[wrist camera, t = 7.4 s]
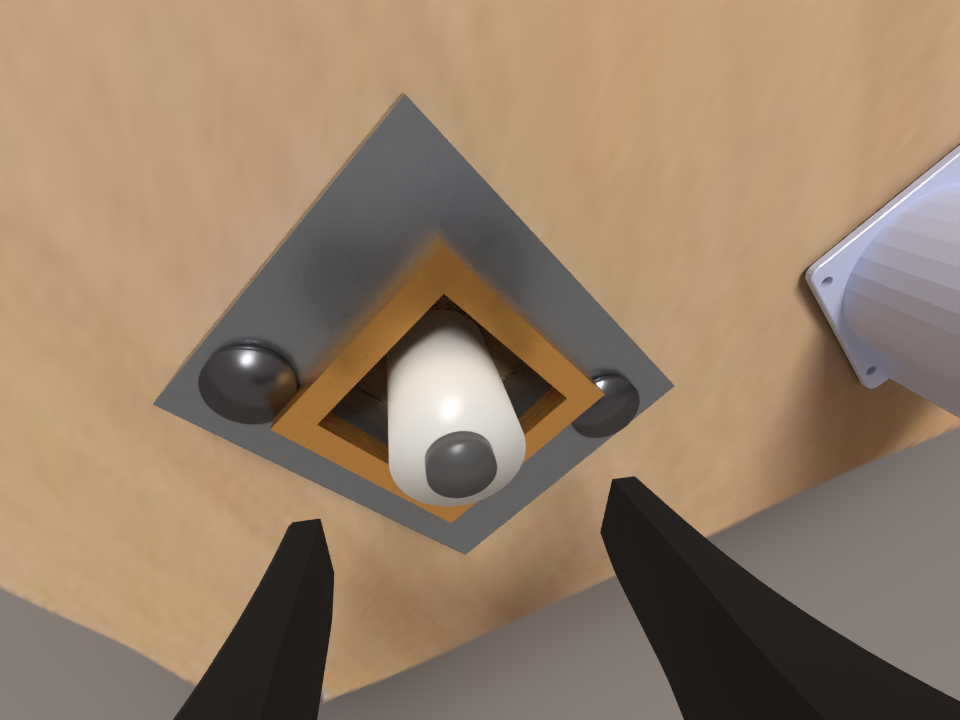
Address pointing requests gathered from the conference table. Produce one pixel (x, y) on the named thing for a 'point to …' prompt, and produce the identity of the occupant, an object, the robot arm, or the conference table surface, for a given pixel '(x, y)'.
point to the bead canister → (449, 414)
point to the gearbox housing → (391, 313)
